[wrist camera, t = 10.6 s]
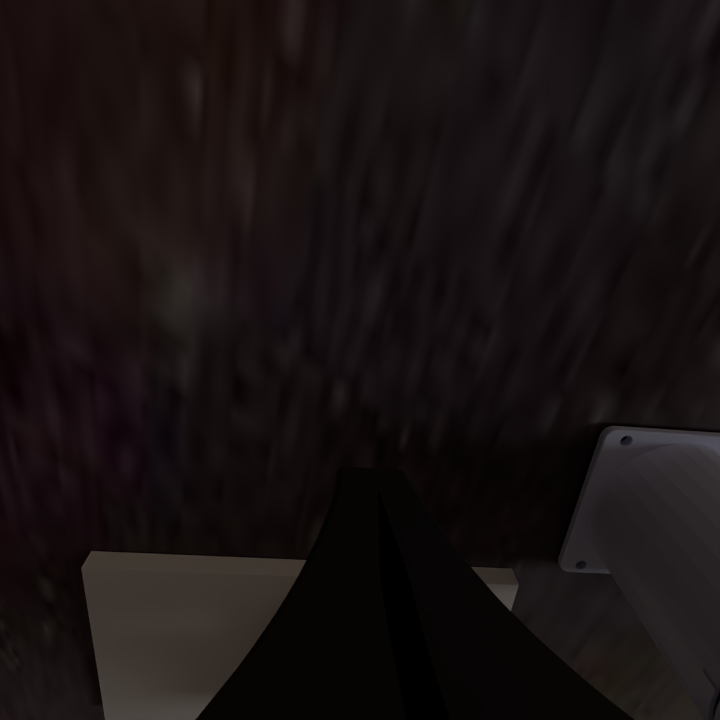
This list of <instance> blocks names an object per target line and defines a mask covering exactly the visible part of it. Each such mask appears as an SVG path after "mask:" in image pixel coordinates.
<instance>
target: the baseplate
mask: <svg viewBox="0 0 720 720" xmlns="http://www.w3.org/2000/svg"><path fill="white" fill-rule="evenodd" d="M305 562H306V560H294V559H270V558H246V557H222V556H198V555H174V554H150V553H126V552H101V551H91V552H90V554H89V556H88V557H87V559H86V561H85V562H84V564H83V566H82V568H81V570H82V576H83V582H84V589H85V595H86V601H87V608H88V614H89V620H90V627H91V633H92V639H93V646H94V652H95V658H96V665H97V671H98V677H99V684H100V690H101V696H102V703H103V709H104V715H105V720H195V719H196V718H197V717H198V716H199V715H200V713H201V712H202V711H203V710H204V708H205V707H206V706H207V705H208V703H209V702H210V701H211V700H212V698H213V697H214V696H215V695H216V693H217V692H218V691H219V690H220V689H221V687H222V686H223V685H224V684H225V682H226V681H227V680H228V679H229V677H230V676H231V675H232V674H233V672H234V671H235V670H236V669H237V667H238V666H239V665H240V663H241V662H242V661H243V659H244V658H245V657H246V655H247V654H248V653H249V651H250V650H251V648H252V647H253V646H254V644H255V643H256V641H257V640H258V638H259V637H260V635H261V634H262V633H263V631H264V630H265V628H266V627H267V625H268V624H269V622H270V621H271V619H272V618H273V616H274V615H275V613H276V612H277V610H278V609H279V607H280V605H281V604H282V602H283V601H284V599H285V597H286V596H287V594H288V592H289V591H290V589H291V587H292V586H293V584H294V582H295V580H296V579H297V577H298V575H299V573H300V571H301V570H302V568H303V566H304V564H305ZM472 568H473V570H474V571H475V572H476V573H477V574H478V576H479V577H480V578H481V579H482V580H483V582H484V583H485V584H486V585H487V586H488V587H489V588H490V590H491V591H492V592H493V593H494V594H495V595H496V596H497V597H498V598H499V600H500V601H501V602H502V603H503V604H504V605H505V606H506V607H507V608H508V609H509V610H510V611H511V608H512V605H513V602H514V599H515V595H516V592H517V589H518V586H519V585H518V582H517V580H516V577H515V575H514V572H513V570H512V569H511V568H487V567H472Z"/></svg>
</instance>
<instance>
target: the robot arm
mask: <svg viewBox="0 0 720 720" xmlns="http://www.w3.org/2000/svg"><path fill="white" fill-rule="evenodd" d="M624 436H627V438H626V439H625V440H623V441H620V440H621V439H622V438H623V437H624ZM580 561H581V562H580ZM578 562H579V563H578ZM558 563H559V565H560V567H561V569H562V570H564V571H567V572H586V573H610V574H611V575H612V577H613V578H614V580H615V581H616V583H617V584H618V586H619V588H620V589H621V591H622V592H623V594H624V595H625V597H626V599H627V600H628V602H629V603H630V605H631V606H632V608H633V609H634V611H635V613H636V614H637V616H638V617H639V619H640V620H641V622H642V624H643V625H644V627H645V628H646V630H647V631H648V633H649V635H650V636H651V638H652V639H653V641H654V642H655V644H656V646H657V647H658V649H659V650H660V652H661V653H662V655H663V656H664V658H665V660H666V661H667V663H668V664H669V666H670V667H671V669H672V671H673V672H674V674H675V675H676V677H677V678H678V680H679V682H680V683H681V685H682V686H683V688H684V689H685V691H686V693H687V694H688V696H689V697H690V699H691V700H692V702H693V704H694V705H695V707H696V708H697V710H698V711H699V713H700V714H701V716H702V718H703V719H704V720H720V433H714V432H699V431H684V430H669V429H654V428H639V427H624V426H610V427H607V428H605V429H604V430H603V431H602V432H601V434H600V436H599V439H598V442H597V445H596V448H595V451H594V454H593V457H592V460H591V463H590V466H589V469H588V472H587V475H586V478H585V481H584V484H583V487H582V490H581V493H580V495H579V498H578V501H577V504H576V507H575V510H574V513H573V516H572V519H571V522H570V525H569V528H568V531H567V534H566V537H565V540H564V543H563V546H562V549H561V552H560V555H559V558H558ZM195 720H634V719H633V718H631V717H630V716H629V715H628V714H626V713H625V712H624V711H622V710H621V709H620V708H619V707H617V706H616V705H615V704H613V703H612V702H611V701H610V700H608V699H607V698H606V697H605V696H603V695H602V694H601V693H600V692H599V691H597V690H596V689H595V688H594V687H593V686H591V685H590V684H589V683H588V682H587V681H585V680H584V679H583V678H582V677H581V676H579V675H578V674H577V673H576V672H575V671H574V670H573V669H572V668H570V667H569V666H568V665H567V664H566V663H565V662H564V661H563V660H561V659H560V658H559V657H558V656H557V655H556V654H555V653H554V652H552V651H551V650H550V649H549V648H548V647H547V646H546V645H545V644H543V643H542V642H541V641H540V640H539V639H538V638H537V637H536V636H535V635H534V634H533V633H532V632H531V631H530V630H529V629H528V628H527V627H526V626H525V625H524V624H523V623H522V622H521V621H520V620H519V619H518V618H517V617H516V616H515V615H514V614H513V613H512V612H511V611H510V610H509V609H508V608H507V607H506V606H505V605H504V604H503V603H502V602H501V601H500V600H499V598H498V597H497V596H496V595H495V594H494V593H493V592H492V591H491V590H490V588H489V587H488V586H487V585H486V584H485V583H484V582H483V580H482V579H481V578H480V577H479V576H478V574H477V573H476V572H475V571H474V570H473V568H472V567H471V566H470V565H469V564H468V562H467V561H466V560H465V559H464V557H463V556H462V555H461V554H460V552H459V551H458V550H457V548H456V547H455V546H454V544H453V543H452V542H451V540H450V539H449V538H448V536H447V535H446V534H445V532H444V531H443V530H442V528H441V527H440V526H439V524H438V523H437V521H436V520H435V518H434V517H433V516H432V514H431V513H430V511H429V510H428V508H427V507H426V505H425V504H424V502H423V501H422V499H421V498H420V496H419V495H418V493H417V491H416V490H415V488H414V487H413V485H412V483H411V482H410V480H409V479H408V477H407V475H406V474H405V473H404V472H403V471H402V470H390V469H372V468H355V467H342V468H341V469H339V470H338V471H337V477H336V487H335V492H334V495H333V499H332V502H331V505H330V508H329V511H328V513H327V516H326V518H325V521H324V523H323V525H322V528H321V530H320V533H319V535H318V537H317V540H316V542H315V544H314V546H313V548H312V550H311V552H310V554H309V556H308V558H307V560H306V562H305V564H304V566H303V568H302V570H301V571H300V573H299V575H298V577H297V579H296V580H295V582H294V584H293V586H292V587H291V589H290V591H289V592H288V594H287V596H286V597H285V599H284V601H283V602H282V604H281V605H280V607H279V609H278V610H277V612H276V613H275V615H274V616H273V618H272V619H271V621H270V622H269V624H268V625H267V627H266V628H265V630H264V631H263V633H262V634H261V635H260V637H259V638H258V640H257V641H256V643H255V644H254V646H253V647H252V648H251V650H250V651H249V653H248V654H247V655H246V657H245V658H244V659H243V661H242V662H241V663H240V665H239V666H238V667H237V669H236V670H235V671H234V672H233V674H232V675H231V676H230V677H229V679H228V680H227V681H226V682H225V684H224V685H223V686H222V687H221V689H220V690H219V691H218V692H217V693H216V695H215V696H214V697H213V698H212V700H211V701H210V702H209V703H208V705H207V706H206V707H205V708H204V710H203V711H202V712H201V713H200V715H199V716H198V717H197V718H196V719H195Z"/></svg>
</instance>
